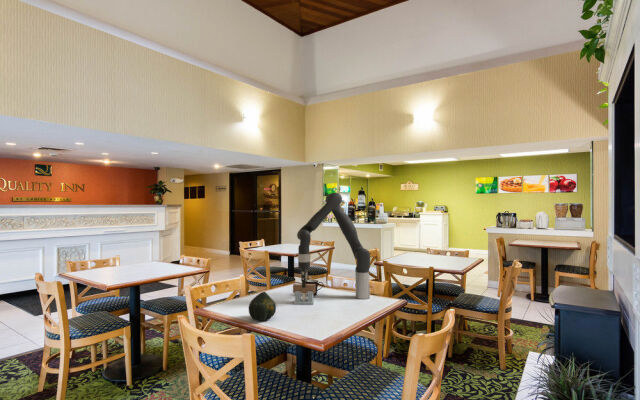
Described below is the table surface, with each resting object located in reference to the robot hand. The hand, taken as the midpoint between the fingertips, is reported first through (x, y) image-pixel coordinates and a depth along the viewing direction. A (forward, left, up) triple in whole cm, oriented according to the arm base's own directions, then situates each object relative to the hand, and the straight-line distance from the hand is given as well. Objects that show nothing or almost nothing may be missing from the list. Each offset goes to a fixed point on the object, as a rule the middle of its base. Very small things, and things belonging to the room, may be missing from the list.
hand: (304, 286), depth 228 cm
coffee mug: (-5, -20, -11) cm, 23 cm away
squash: (+20, +34, -11) cm, 41 cm away
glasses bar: (0, 0, -4) cm, 4 cm away
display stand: (0, 0, -11) cm, 11 cm away
